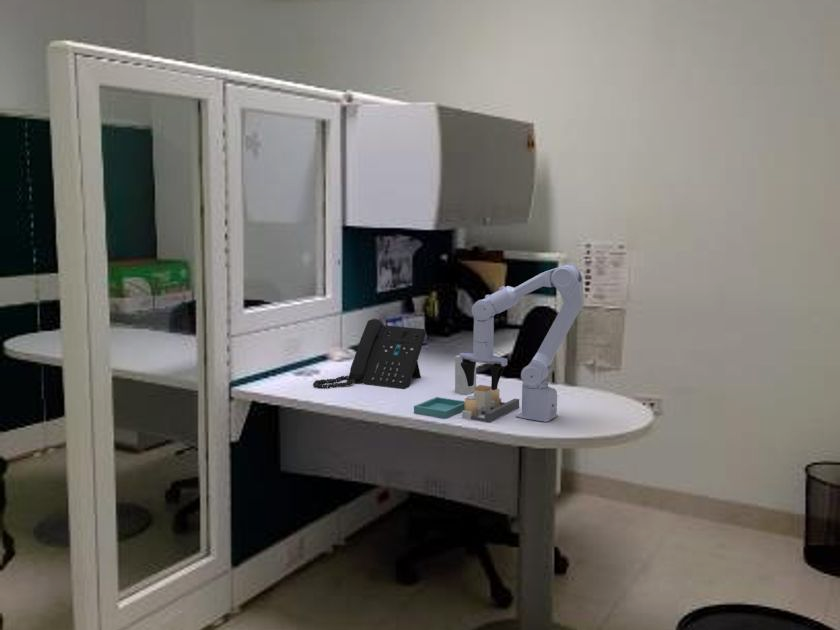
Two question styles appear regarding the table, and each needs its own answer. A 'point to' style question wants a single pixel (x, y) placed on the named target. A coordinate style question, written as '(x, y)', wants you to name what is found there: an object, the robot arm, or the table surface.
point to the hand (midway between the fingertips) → (482, 387)
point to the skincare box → (462, 379)
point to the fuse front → (471, 405)
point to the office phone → (383, 357)
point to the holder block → (493, 411)
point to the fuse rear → (495, 396)
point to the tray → (440, 407)
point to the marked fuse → (483, 396)
